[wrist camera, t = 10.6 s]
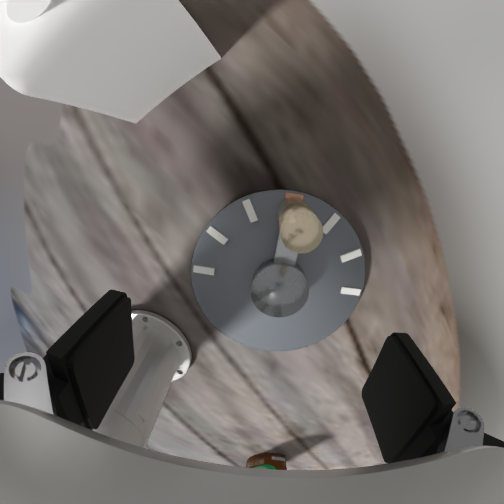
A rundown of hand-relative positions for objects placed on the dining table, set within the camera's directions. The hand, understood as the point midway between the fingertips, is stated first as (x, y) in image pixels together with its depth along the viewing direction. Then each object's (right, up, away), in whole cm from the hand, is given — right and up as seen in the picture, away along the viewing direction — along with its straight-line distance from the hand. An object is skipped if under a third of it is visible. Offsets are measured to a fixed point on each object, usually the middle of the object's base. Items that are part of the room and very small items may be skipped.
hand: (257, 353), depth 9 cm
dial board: (+3, +1, +23) cm, 24 cm away
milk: (-12, +26, +16) cm, 32 cm away
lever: (+3, +3, +21) cm, 21 cm away
